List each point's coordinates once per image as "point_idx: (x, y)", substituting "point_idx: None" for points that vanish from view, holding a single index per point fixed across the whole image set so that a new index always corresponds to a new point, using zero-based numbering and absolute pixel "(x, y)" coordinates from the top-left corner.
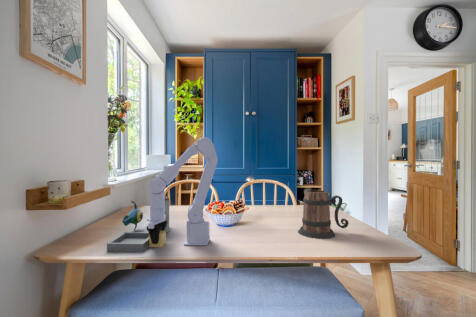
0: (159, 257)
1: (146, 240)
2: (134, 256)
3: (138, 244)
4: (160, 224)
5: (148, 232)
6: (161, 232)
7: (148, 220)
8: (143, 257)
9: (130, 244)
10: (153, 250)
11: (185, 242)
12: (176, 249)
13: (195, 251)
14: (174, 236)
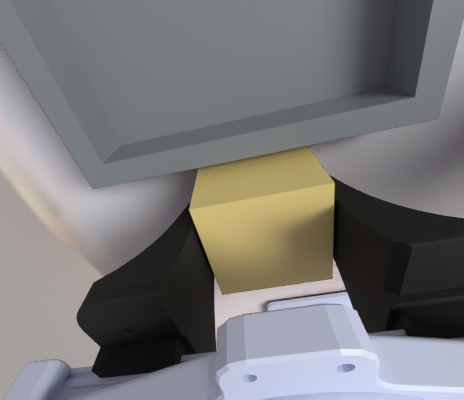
0: (102, 274)
1: (173, 167)
2: (23, 158)
3: (72, 148)
4: (368, 300)
5: (455, 7)
6: (273, 274)
7: (217, 355)
8: (52, 214)
9: (18, 64)
10: (159, 211)
11: (292, 305)
12: (214, 292)
13: (216, 342)
14: (432, 207)
